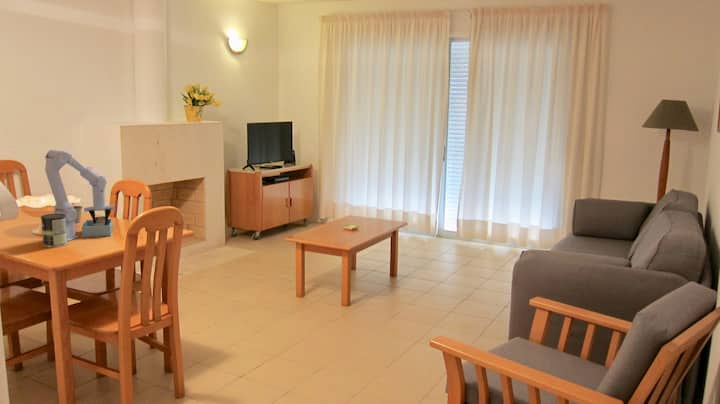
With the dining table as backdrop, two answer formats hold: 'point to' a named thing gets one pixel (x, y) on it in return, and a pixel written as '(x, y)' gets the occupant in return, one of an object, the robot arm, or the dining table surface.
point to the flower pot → (78, 213)
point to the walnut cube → (99, 224)
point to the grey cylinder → (100, 219)
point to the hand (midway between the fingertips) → (100, 224)
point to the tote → (96, 229)
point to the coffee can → (54, 230)
